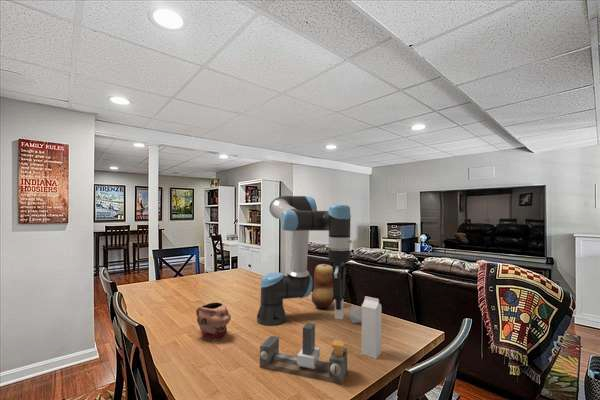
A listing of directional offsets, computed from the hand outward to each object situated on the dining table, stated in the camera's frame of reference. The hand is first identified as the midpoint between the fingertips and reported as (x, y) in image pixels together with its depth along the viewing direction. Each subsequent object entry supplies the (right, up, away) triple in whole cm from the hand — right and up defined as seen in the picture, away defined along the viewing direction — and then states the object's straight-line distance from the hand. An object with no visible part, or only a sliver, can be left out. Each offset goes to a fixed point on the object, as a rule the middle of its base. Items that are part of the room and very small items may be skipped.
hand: (339, 318), depth 98 cm
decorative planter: (-53, -20, +29) cm, 64 cm away
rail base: (-12, -19, +3) cm, 23 cm away
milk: (+15, -21, +15) cm, 30 cm away
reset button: (0, -12, -1) cm, 12 cm away
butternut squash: (0, -23, +70) cm, 73 cm away
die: (+16, -22, +47) cm, 55 cm away
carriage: (-10, -17, +3) cm, 20 cm away
